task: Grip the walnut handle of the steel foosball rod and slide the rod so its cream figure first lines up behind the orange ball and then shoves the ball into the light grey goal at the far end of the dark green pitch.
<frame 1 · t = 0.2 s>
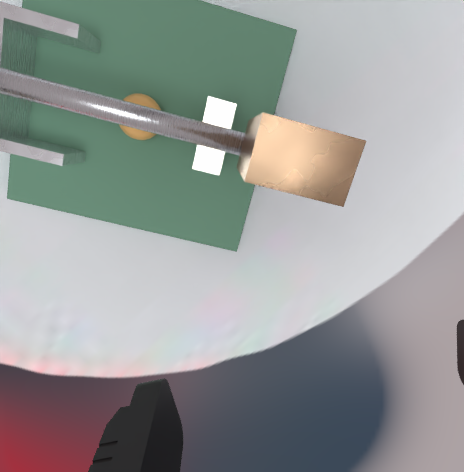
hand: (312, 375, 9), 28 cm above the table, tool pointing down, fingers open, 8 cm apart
pitch: (146, 118, 34), on the table
ball: (140, 117, 31), point 3 cm above the table, touching pitch
foosball rod: (93, 105, 23), point 11 cm above the table, slide at 0.0 cm
goal: (64, 97, 33), resting on pitch
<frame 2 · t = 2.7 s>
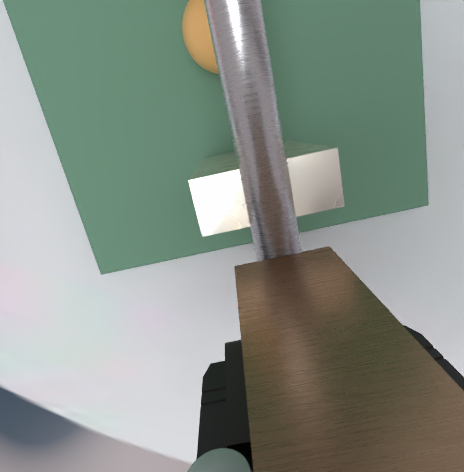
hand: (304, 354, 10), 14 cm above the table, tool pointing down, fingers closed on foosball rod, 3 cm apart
pitch: (222, 44, 20), on the table
ball: (222, 29, 17), point 3 cm above the table, touching pitch
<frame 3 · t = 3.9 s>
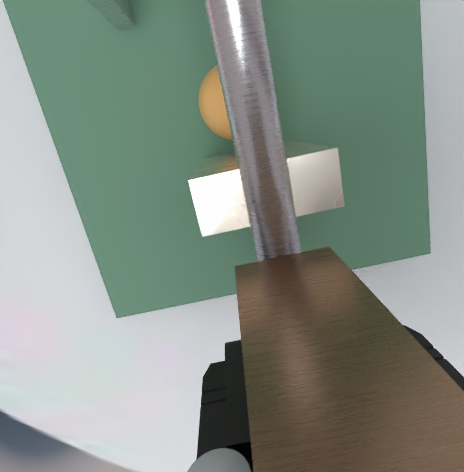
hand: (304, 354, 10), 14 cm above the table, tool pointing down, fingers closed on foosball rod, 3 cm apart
pitch: (234, 105, 21), on the table
ball: (236, 101, 18), point 3 cm above the table, touching pitch
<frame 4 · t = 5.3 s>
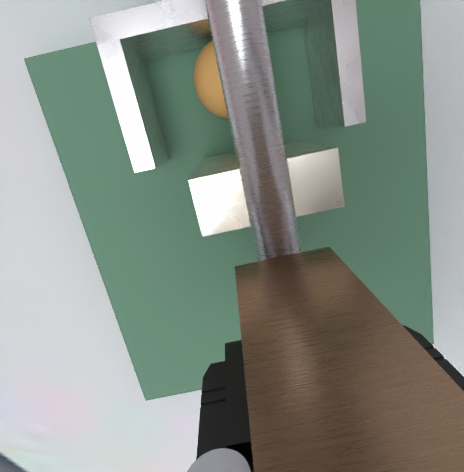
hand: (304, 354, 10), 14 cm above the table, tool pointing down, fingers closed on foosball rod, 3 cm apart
pitch: (256, 218, 23), on the table
ball: (232, 78, 18), point 3 cm above the table, tilted 121°, touching pitch
goal: (232, 92, 21), resting on pitch
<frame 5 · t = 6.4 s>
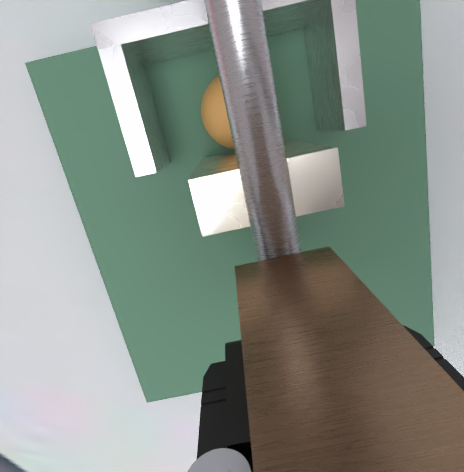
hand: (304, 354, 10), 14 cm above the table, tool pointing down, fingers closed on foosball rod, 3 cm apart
pitch: (257, 220, 23), on the table
ball: (238, 110, 18), point 3 cm above the table, tilted 162°, touching pitch
goal: (232, 96, 21), resting on pitch
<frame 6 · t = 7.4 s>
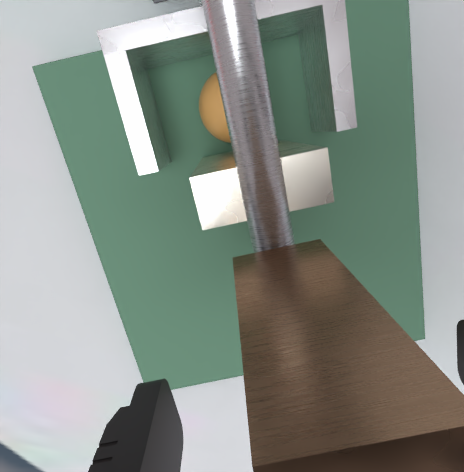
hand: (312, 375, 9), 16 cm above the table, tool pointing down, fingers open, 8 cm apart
pitch: (254, 218, 24), on the table
ball: (234, 106, 19), point 3 cm above the table, tilted 152°, touching pitch
goal: (230, 98, 22), resting on pitch
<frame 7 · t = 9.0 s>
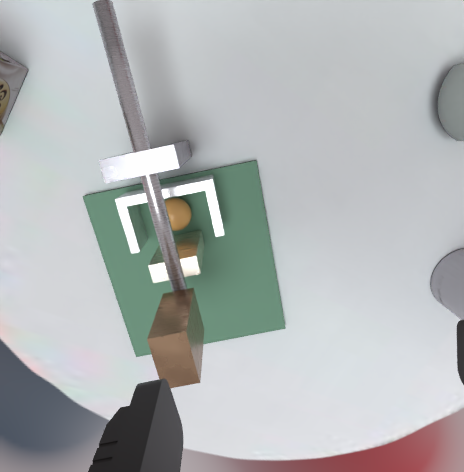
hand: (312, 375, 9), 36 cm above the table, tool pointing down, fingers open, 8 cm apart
pitch: (191, 264, 47), on the table
rod support: (164, 153, 42), on the table
ball: (174, 214, 42), point 3 cm above the table, tilted 136°, touching pitch
foosball rod: (153, 188, 33), point 11 cm above the table, slide at 10.9 cm
goal: (177, 208, 44), resting on pitch
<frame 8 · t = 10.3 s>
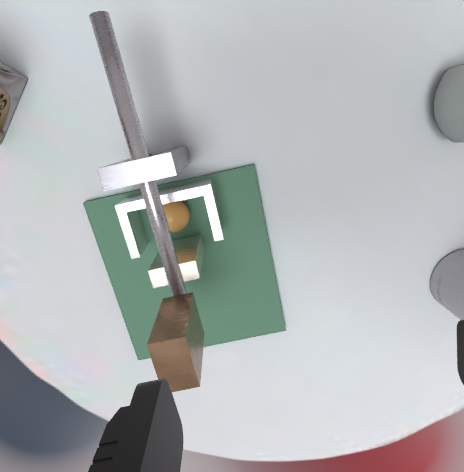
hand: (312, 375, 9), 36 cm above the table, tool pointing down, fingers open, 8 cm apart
pitch: (192, 268, 47), on the table
rod support: (162, 159, 43), on the table
ball: (173, 215, 42), point 3 cm above the table, tilted 123°, touching pitch
foosball rod: (151, 194, 33), point 11 cm above the table, slide at 10.9 cm
goal: (177, 212, 45), resting on pitch
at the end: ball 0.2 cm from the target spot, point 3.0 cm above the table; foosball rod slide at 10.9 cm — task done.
